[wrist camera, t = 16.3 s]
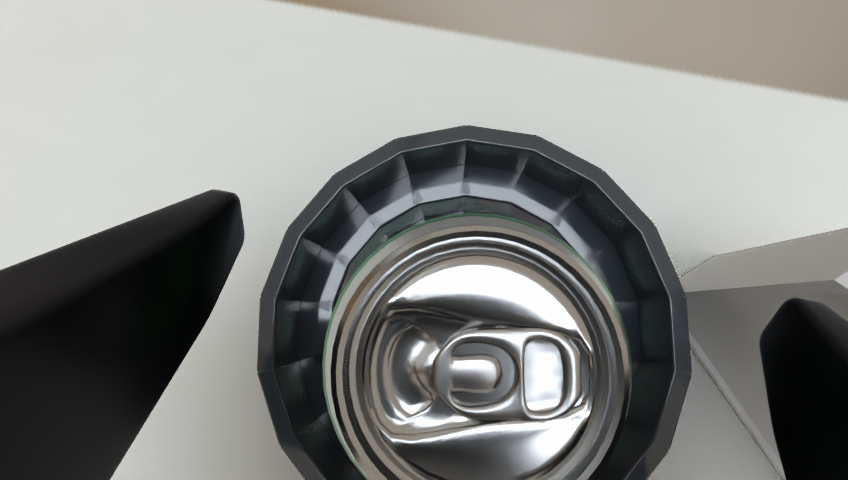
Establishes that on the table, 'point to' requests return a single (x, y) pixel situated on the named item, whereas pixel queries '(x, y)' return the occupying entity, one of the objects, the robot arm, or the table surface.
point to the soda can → (477, 357)
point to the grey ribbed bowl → (459, 194)
